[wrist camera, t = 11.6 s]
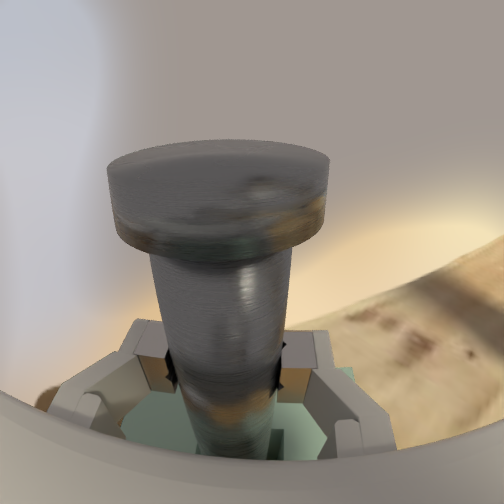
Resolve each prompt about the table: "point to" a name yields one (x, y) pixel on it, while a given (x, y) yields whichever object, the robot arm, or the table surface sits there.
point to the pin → (222, 269)
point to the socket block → (183, 439)
